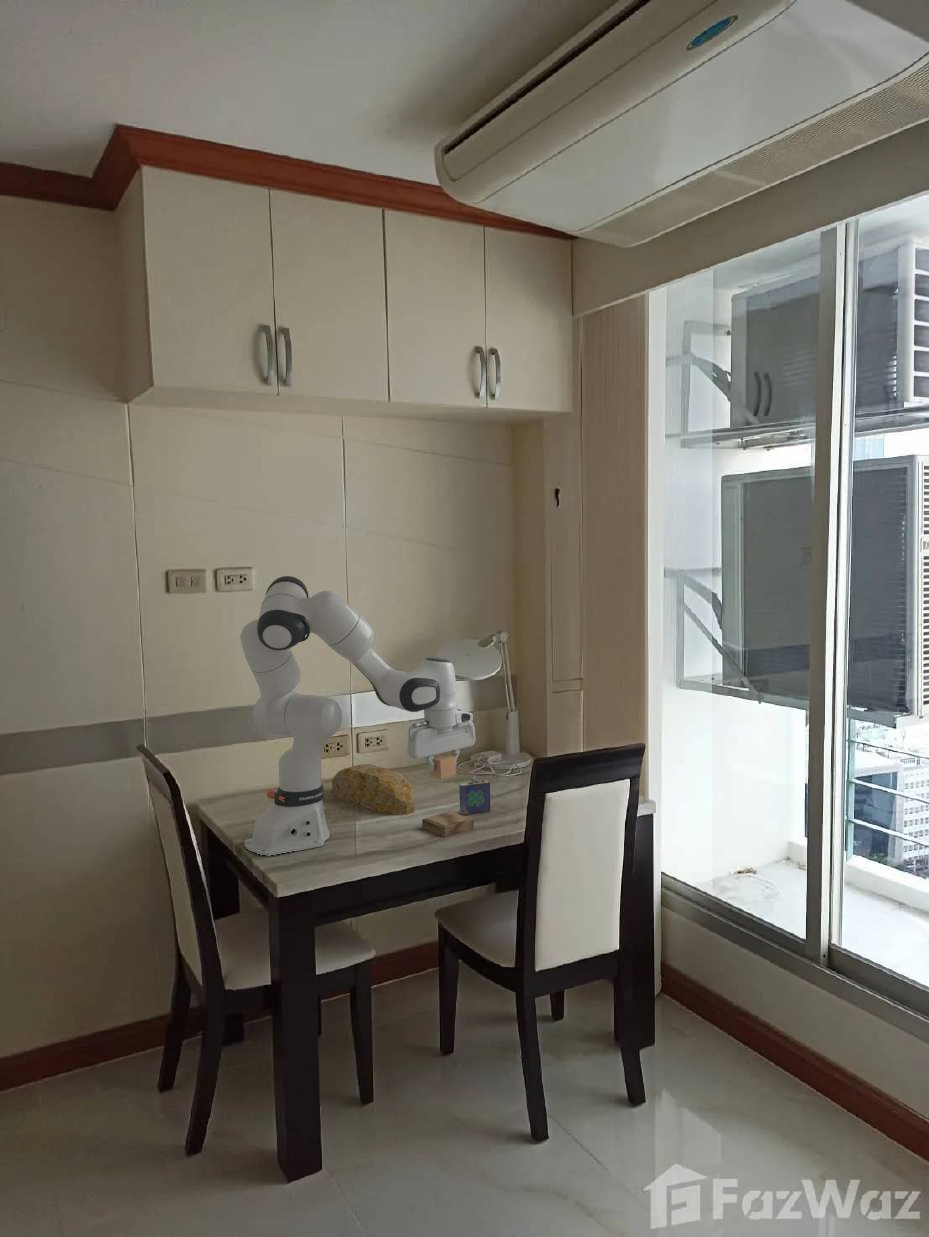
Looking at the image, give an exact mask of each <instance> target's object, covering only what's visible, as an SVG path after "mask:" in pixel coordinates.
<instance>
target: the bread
mask: <svg viewBox="0 0 929 1237" xmlns="http://www.w3.org/2000/svg"><path fill="white" fill-rule="evenodd" d="M331 788H332V790H331V791H332V793H333V794H335V795H336V796H335V795H334V796H335V797H337V798H338V799H340V800H341V799H342V800H341V801H344V802H347V803H350V804H353V805H356V806H359V807H362V808H366V809H368V810H372V811H375V812H377V813H380V814H387V815H392V816H393V815H394V816H405V815H406V816H408V815H411V814H414V813H415V810H416V806H415V804H416V803H415V791H414V790H413V787H412V786H411V784H410V783H409V780H408V779H406V777H405V776H404V775H402V774H401V773H400V772H399V771H396V770H392V769H388V768H385V767H383V766H379V765H373V764H372V763H363V764H357V765H353V766H349V767H345V768H343V769H341V770H339V771H338V772H337V773H336V774H335V775H334V776H333V778H332V780H331Z"/></svg>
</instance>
